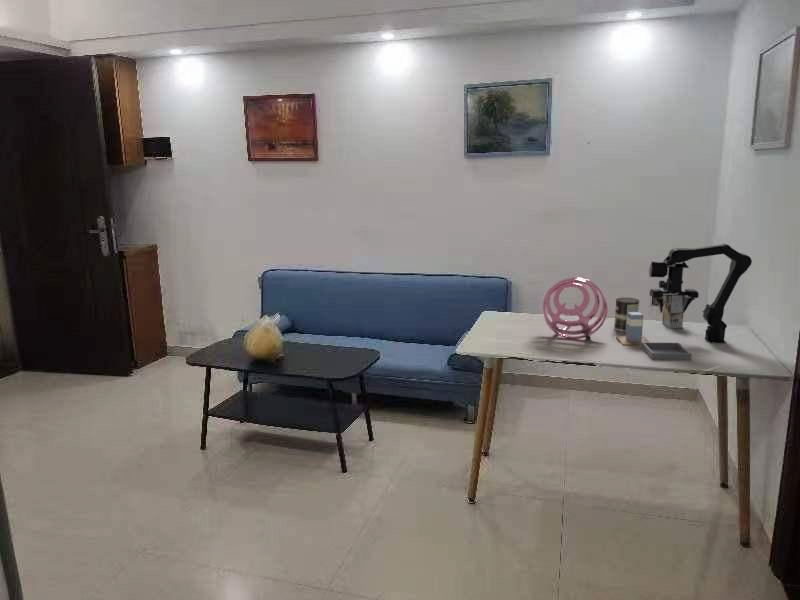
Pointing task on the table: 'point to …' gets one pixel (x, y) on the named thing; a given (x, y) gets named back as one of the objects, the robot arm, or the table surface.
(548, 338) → the table surface
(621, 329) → the coffee can
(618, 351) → the table surface
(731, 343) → the table surface
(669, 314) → the coffee box
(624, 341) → the pad
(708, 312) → the robot arm
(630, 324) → the carton
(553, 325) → the spiral basket
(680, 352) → the tray
